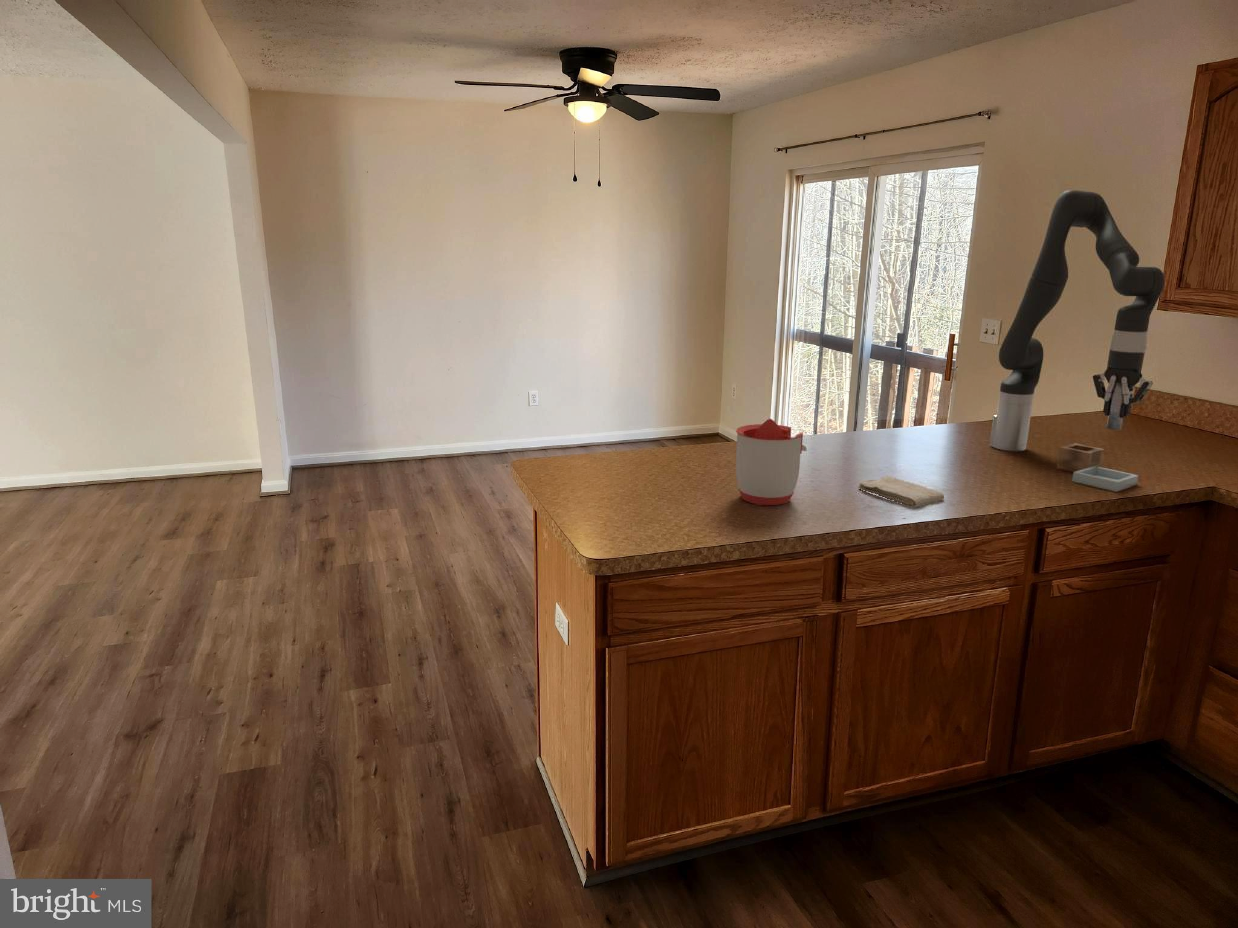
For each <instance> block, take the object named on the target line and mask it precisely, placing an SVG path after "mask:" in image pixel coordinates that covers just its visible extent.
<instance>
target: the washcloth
mask: <svg viewBox="0 0 1238 928" xmlns="http://www.w3.org/2000/svg"><path fill="white" fill-rule="evenodd" d="M858 485H859V486H858V487H857V489H858V488H860V489H862V490H865V491H868V492H871V493H875V494H878V495H879V496H882V497H885V498H887V499H890V500H894V503H896V502H898V503H897V504H899V503H902V504H901V505H903V506H906V507H909V508H919V507H923V506H926V505H928V504H929V505H930V504H934V503H938V502H940V501H943V500H944V499H945V495H944V493H942V492H941V491H939V490H935V489H932V488H928V487H926V486H923V485H920V484H916V483H914V482H910V481H905V480H903V479H900V478H896V477H893V476H889V475H888V476H883V477H880V478H878V479H869V480H866V481H862V482H859V483H858ZM860 489H859V490H860ZM890 500H889V501H890Z"/></svg>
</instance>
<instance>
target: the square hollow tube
mask: <svg viewBox="0 0 1238 928" xmlns="http://www.w3.org/2000/svg"><path fill="white" fill-rule="evenodd" d="M1104 454H1105V449H1104V448H1102V447H1095V446H1089V445H1085V444H1080V443H1071V444H1067V445H1063V446H1060V447H1059V450H1058V456H1057V457H1058V458H1057V465H1056V469H1060V470H1064V471H1067V472H1068V471H1069V472H1073V473H1074V472H1076V471H1079V470H1082V469H1086V468H1089V467H1092V466H1097V467H1102V465H1103V459H1104Z"/></svg>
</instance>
